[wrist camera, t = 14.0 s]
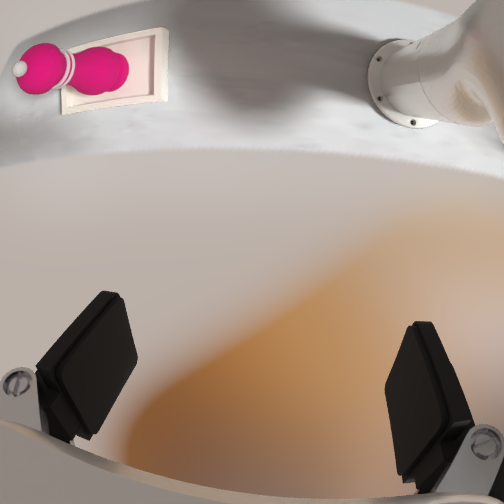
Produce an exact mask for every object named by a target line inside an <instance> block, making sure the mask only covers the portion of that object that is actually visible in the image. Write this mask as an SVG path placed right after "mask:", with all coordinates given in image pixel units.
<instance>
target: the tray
mask: <svg viewBox="0 0 504 504" xmlns="http://www.w3.org/2000/svg"><path fill="white" fill-rule="evenodd" d="M97 46H99V47H107V48H109V49H111V50H112V51H113V52H116V53H120V54H122V55H123V56H124V57H125V58H126V59H127V61H128V63H129V74H128V77H127V80H126V81H125V83H124V84H123V85H122V86H121V87H120V88H119V89H117V90H115V91H113V92H104V93H102V94H100V95H85V94H82V93H80V92H78V91H77V90H76V89H75V88H73V87H72V86H70V85H65V86H64V87H62V88H61V97H62V115H66V114H72V113H78V112H83V111H89V110H96V109H102V108H109V107H116V106H124V105H133V104H142V103H152V102H164V101H168V49H169V30H168V29H166V28H163V27H159V28H153V29H147V30H142V31H136V32H131V33H127V34H122V35H118V36H114V37H109V38H105V39H101V40H98V41H94V42H90V43H87V44H83V45H80V46H77V47H73V48H70V49H67V50H69V51H70V52H71V53H72V54H76V53H79V52H82V51H83V50H85V49H88V48H91V47H97Z"/></svg>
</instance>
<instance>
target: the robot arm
mask: <svg viewBox="0 0 504 504" xmlns="http://www.w3.org/2000/svg"><path fill="white" fill-rule="evenodd" d="M377 58H378V59H379V60H380V61H379V62H378V61H377ZM367 79H368V87H369V90H370V94H371V96H372V98H373V100H374V102H375V104H376V105H377V107H378V108H379V110H380V111H381V112H382V113H383V114H384V115H385V116H386V117H388V118H389V119H390V120H392V121H393V122H395V123H397V124H399V125H401V126H405V127H409V128H415V129H416V128H426V127H430V126H432V125H435V124H437V123H438V122H439V121H443V122H448V123H454V124H459V125H465V126H473V127H480V126H486V125H489V124H492V123H494V125H495V128H496V130H497V132H498V135H499V137H500V139H501V141H502V143H503V144H504V0H476V1H475V2H474V3H473V4H472V5H471V6H470V7H469V8H468V9H467V10H466V11H465V12H464V13H463V14H462V15H461V16H460V17H459V18H458V19H457V20H455V21H454V22H452V23H451V24H449V25H447V26H445V27H444V28H442V29H440V30H438V31H436V32H434V33H432V34H430V35H428V36H426V37H424V38H422V39H420V40H418V41H413V40H406V39H405V40H396V41H392V42H389V43H388V44H386V45H384V46H382V47H381V48H380V49H379V50H378V51H377V52H376V53H375V54H374V56H373V58H372V59H371V61H370V64H369V68H368V76H367ZM378 97H380V101H379V100H378V99H377V98H378ZM411 120H412V121H413V123H412V124H411V123H410V121H411ZM137 359H138V356H137V352H136V348H135V344H134V340H133V337H132V333H131V329H130V324H129V320H128V316H127V312H126V308H125V303H124V300H123V299H122V298H120V296H119V294H118V293H115V292H109V291H101V292H100V293H99V294H98V295H97V296H96V298H95V299H94V300H93V301H92V302H91V303H90V304H89V305H88V306H87V307H86V308H85V310H84V311H83V312H82V313H81V314H80V315H79V316H78V317H77V318H76V319H75V320H74V322H73V323H72V324H71V325H70V326H69V327H68V328H67V330H66V331H65V332H64V333H63V334H62V335H61V336H60V337H59V339H58V340H57V341H56V342H55V343H54V345H53V346H52V347H51V348H50V349H49V350H48V352H47V353H46V354H45V355H44V356H43V358H42V359H41V360H40V361H39V362H38V363H37V365H36V367H37V371H36V372H35V373H34V372H33V371H32V370H31V369H29V368H24V367H20V368H16V369H13V370H11V371H9V372H8V373H6V374H5V376H4V377H3V378H2V380H1V382H0V504H504V437H503V435H502V434H501V432H500V431H499V430H498V429H496V428H495V427H493V426H491V425H488V424H479V425H476V426H475V424H474V421H473V418H472V415H471V412H470V409H469V406H468V404H467V401H466V398H465V396H464V393H463V390H462V388H461V386H460V383H459V380H458V378H457V376H456V373H455V370H454V368H453V366H452V364H451V363H450V361H449V359H448V356H447V354H446V352H445V349H444V347H443V345H442V343H441V340H440V338H439V336H438V334H437V332H436V330H435V327H434V325H433V324H432V322H425V321H415V322H414V323H413V325H412V326H408V328H407V330H406V333H405V335H404V338H403V341H402V343H401V346H400V349H399V351H398V354H397V357H396V359H395V362H394V364H393V367H392V369H391V372H390V374H389V376H388V379H387V381H386V384H385V396H386V401H387V407H388V413H389V419H390V424H391V431H392V438H393V444H394V451H395V459H396V467H397V473H398V475H400V476H401V475H402V480H403V483H411V482H415V484H416V489H417V491H416V492H415V493H414V495H406V496H396V497H384V498H365V499H301V498H286V497H273V496H263V495H255V494H247V493H240V492H233V491H227V490H221V489H215V488H210V487H205V486H199V485H195V484H191V483H186V482H181V481H178V480H174V479H170V478H166V477H162V476H158V475H155V474H151V473H148V472H145V471H141V470H138V469H135V468H131V467H129V466H126V465H122V464H119V463H117V462H114V461H111V460H108V459H106V458H103V457H100V456H97V455H95V454H93V453H90V452H88V451H85V450H83V449H80V448H77V447H75V444H74V440H73V439H74V437H75V435H77V436H79V437H82V438H84V439H87V440H90V439H91V437H92V435H93V434H97V433H98V431H99V430H100V428H101V426H102V424H103V422H104V420H105V419H106V417H107V415H108V413H109V412H110V410H111V408H112V406H113V404H114V403H115V401H116V399H117V397H118V396H119V394H120V392H121V390H122V388H123V386H124V385H125V383H126V381H127V380H128V378H129V376H130V375H131V373H132V371H133V369H134V368H135V366H136V364H137Z"/></svg>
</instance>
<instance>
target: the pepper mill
mask: <svg viewBox="0 0 504 504" xmlns="http://www.w3.org/2000/svg"><path fill="white" fill-rule="evenodd" d="M12 73H13V75H14V76H15V77H16V78H17V82H18V84H19V86H20V88H21V89H22V90H23V91H25V92H26V93H29V94H36V95H38V94H43V93H45V92H47V91H49V90H50V89H59V88H62V87H64V86H65V85H70V86H72V87H73V88H75V89H76V90H77V91H78V92H80V93H82V94H85V95H100V94H102V93H104V92H113V91H115V90H117V89H119V88H120V87H121V86H122V85H123V84H124V83H125V81H126V80H127V77H128V74H129V63H128V61H127V59H126V58H125V57H124V56H123V55H122V54H120V53H116V52H113V51H112V50H111V49H109V48H107V47H99V46H97V47H91V48H88V49H85V50H83V51H82V52H79V53H76V54H72V53H71V52H70V51H69V50H66V49H59V48H58V47H56V46H55V45H53V44H49V43H42V44H38V45H35V46H33V47H31V48H30V49H28V50H27V51H26V52H25V53H24V55H23V56H22V57H21V59H20V61H19V62H17V63H15V64H14V66H13V68H12Z"/></svg>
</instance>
